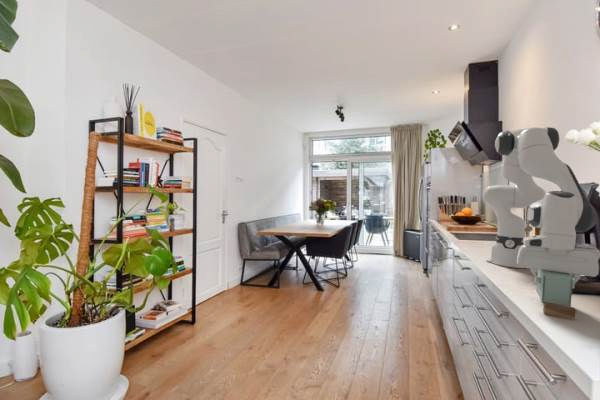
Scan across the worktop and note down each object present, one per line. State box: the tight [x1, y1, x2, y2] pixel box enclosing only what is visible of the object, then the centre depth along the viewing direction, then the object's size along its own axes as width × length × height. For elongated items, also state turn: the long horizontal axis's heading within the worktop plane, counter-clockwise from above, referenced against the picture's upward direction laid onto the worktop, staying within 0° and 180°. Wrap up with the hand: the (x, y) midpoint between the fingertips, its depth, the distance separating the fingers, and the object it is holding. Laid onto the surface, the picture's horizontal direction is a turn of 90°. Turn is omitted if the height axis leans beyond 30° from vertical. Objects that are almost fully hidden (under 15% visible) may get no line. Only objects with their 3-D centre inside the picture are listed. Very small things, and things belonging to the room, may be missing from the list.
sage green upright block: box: [535, 269, 574, 307], centre depth 101 cm, size 11×7×9 cm, turn 150°
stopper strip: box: [542, 302, 577, 321], centre depth 93 cm, size 2×7×3 cm, turn 60°
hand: (553, 285), depth 101 cm, fingers closed on sage green upright block, 7 cm apart
